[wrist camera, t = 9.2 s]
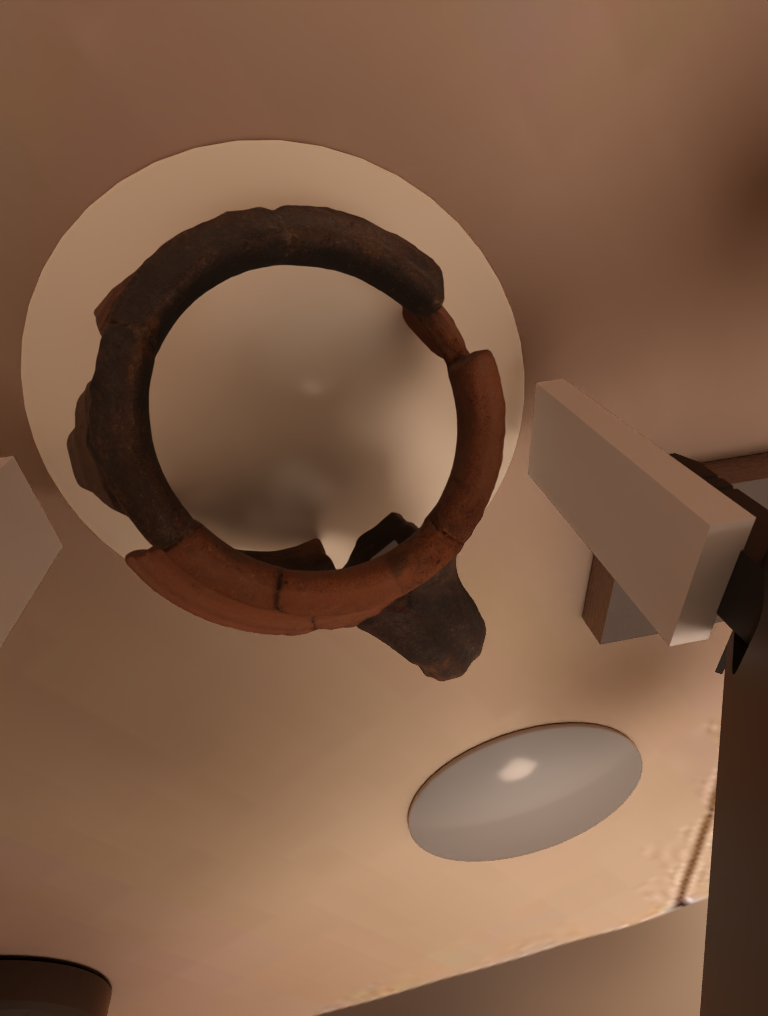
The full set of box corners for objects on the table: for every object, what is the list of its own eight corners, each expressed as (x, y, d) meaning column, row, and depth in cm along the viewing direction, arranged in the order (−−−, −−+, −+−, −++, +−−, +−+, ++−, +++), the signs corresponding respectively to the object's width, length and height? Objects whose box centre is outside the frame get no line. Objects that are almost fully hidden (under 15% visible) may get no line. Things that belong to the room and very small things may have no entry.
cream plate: (137, 633, 18) (135, 639, 18) (-99, 173, 11) (-108, 172, 10) (508, 569, 20) (511, 574, 19) (540, 112, 12) (545, 111, 12)
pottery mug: (43, 451, 14) (-157, 415, 7) (275, 243, 16) (335, 21, 8) (338, 699, 18) (439, 871, 10) (506, 502, 19) (704, 516, 12)
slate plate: (414, 874, 33) (415, 879, 33) (400, 754, 25) (401, 759, 25) (617, 829, 34) (619, 833, 34) (663, 701, 26) (666, 706, 26)
